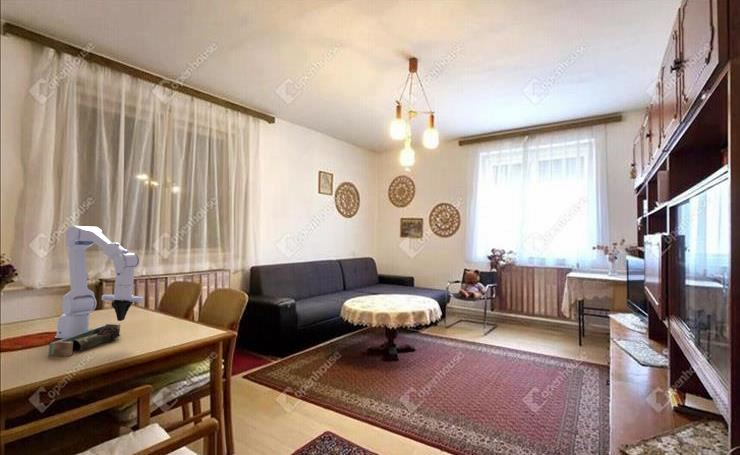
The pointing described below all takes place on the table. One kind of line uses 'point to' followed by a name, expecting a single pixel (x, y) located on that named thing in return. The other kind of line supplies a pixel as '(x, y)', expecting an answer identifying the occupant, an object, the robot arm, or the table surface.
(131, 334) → the table surface
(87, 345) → the metal pipe
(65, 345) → the dock
